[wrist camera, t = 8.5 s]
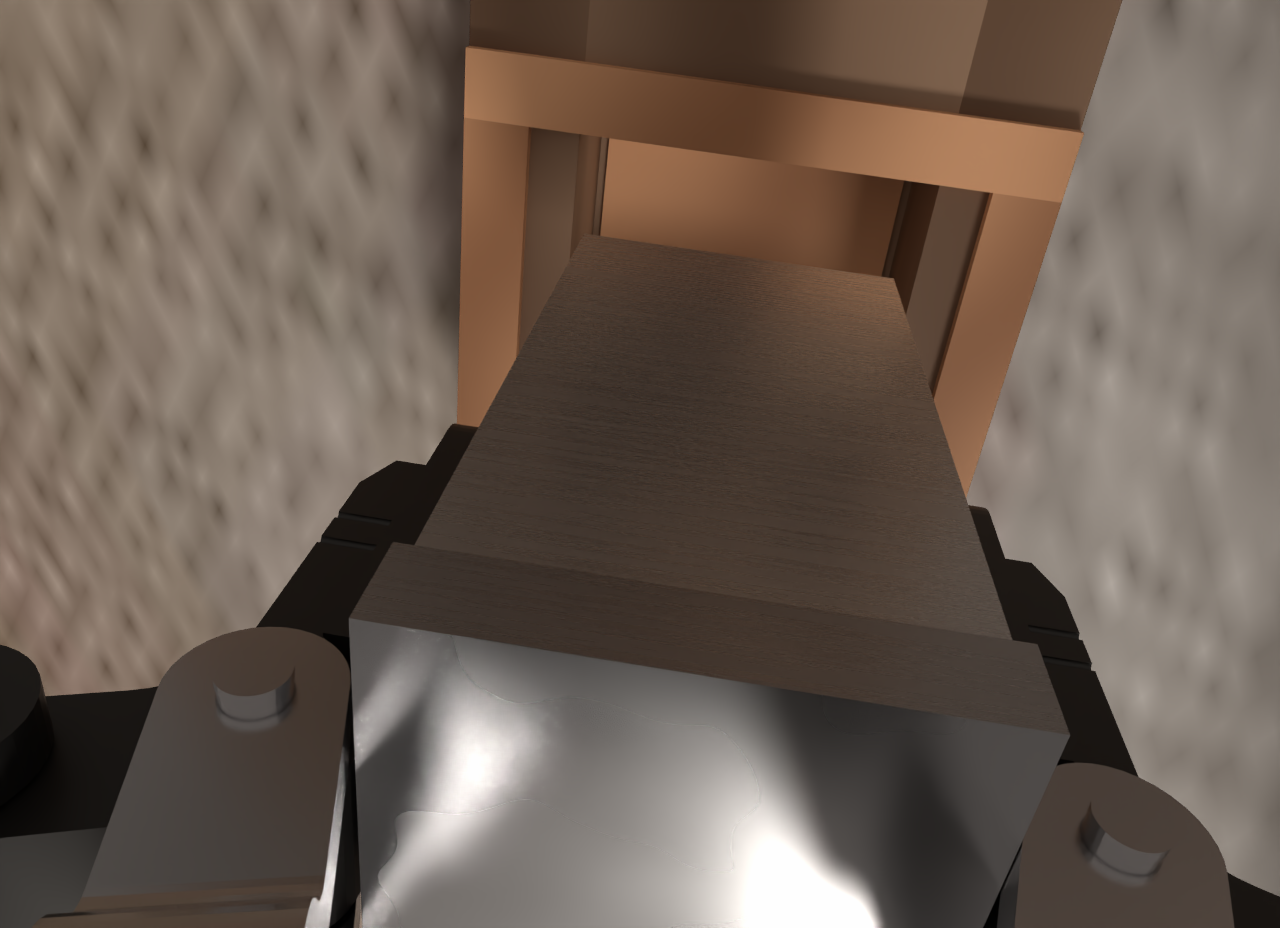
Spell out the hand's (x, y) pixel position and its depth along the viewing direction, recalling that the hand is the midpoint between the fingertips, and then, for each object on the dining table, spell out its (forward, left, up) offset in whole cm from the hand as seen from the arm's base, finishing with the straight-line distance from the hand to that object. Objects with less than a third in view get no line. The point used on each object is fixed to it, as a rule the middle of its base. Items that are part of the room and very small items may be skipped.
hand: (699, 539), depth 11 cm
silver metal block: (0, 0, -4) cm, 4 cm away
